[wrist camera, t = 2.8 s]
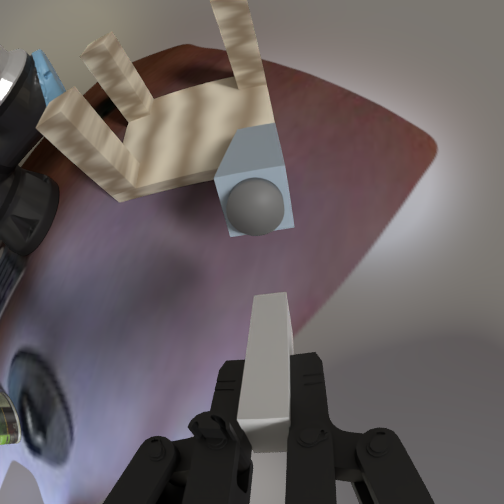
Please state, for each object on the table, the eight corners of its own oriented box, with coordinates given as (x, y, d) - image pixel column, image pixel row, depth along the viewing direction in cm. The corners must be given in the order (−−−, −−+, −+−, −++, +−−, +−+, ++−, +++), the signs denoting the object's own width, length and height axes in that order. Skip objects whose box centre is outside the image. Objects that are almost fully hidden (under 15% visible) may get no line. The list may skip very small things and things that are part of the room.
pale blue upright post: (245, 163, 30) (228, 246, 17) (237, 129, 27) (210, 184, 14) (281, 157, 29) (295, 236, 16) (274, 122, 27) (286, 171, 14)
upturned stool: (119, 202, 34) (35, 127, 18) (138, 114, 40) (89, 43, 25) (282, 167, 31) (257, 37, 15) (265, 80, 37) (243, -13, 21)
